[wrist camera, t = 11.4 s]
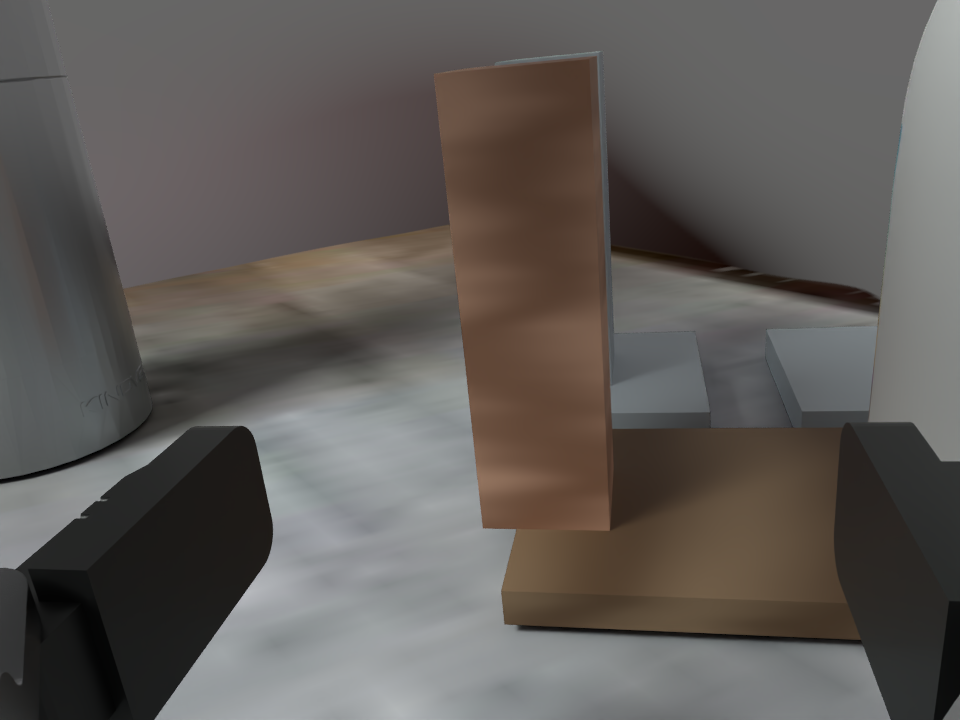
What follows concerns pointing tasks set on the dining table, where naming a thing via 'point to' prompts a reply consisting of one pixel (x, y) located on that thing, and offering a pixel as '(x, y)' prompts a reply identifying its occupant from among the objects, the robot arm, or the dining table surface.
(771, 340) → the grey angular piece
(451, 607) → the dining table surface
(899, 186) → the milk bottle
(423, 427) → the dining table surface
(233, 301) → the dining table surface
